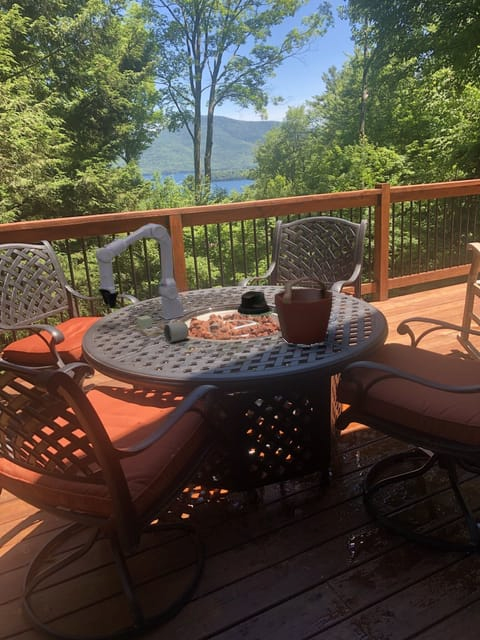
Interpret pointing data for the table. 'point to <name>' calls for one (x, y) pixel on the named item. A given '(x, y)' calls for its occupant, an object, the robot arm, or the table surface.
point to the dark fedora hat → (254, 304)
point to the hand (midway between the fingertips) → (110, 306)
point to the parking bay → (153, 332)
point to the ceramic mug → (175, 332)
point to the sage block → (144, 321)
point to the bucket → (304, 312)
